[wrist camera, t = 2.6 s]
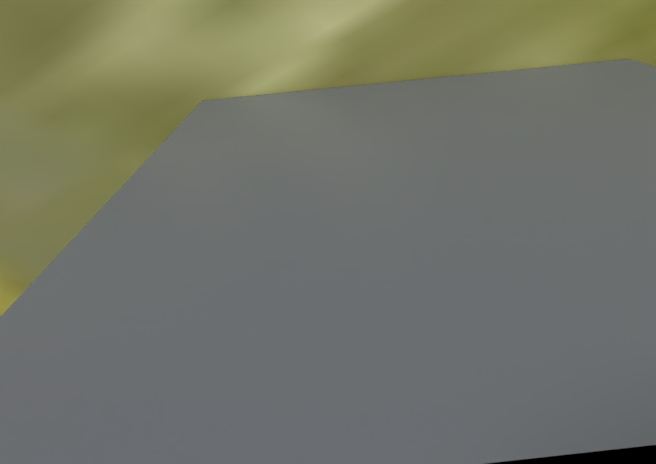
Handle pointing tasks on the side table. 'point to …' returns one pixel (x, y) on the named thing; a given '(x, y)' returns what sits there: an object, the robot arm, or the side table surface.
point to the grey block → (360, 284)
